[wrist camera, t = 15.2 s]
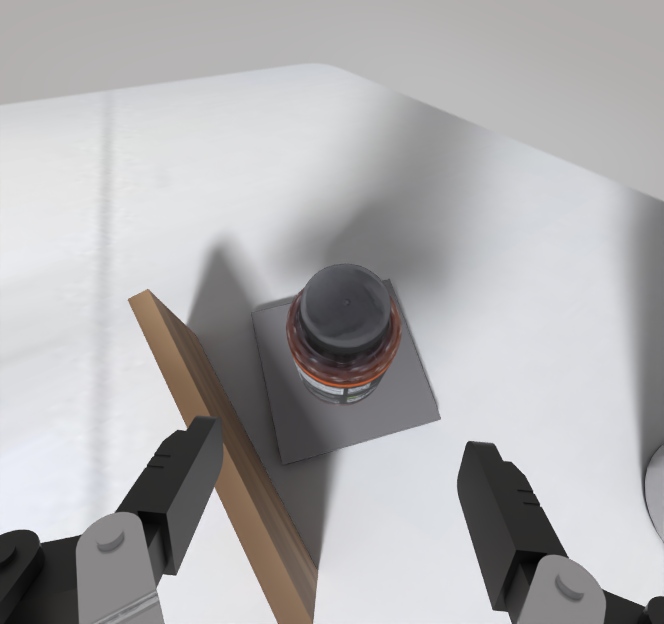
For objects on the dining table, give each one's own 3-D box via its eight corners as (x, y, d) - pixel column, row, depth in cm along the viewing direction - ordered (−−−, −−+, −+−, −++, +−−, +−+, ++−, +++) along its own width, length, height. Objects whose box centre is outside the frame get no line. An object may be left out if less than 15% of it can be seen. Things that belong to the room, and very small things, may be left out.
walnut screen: (195, 334, 28) (148, 288, 21) (318, 571, 23) (313, 624, 15) (180, 342, 28) (127, 299, 21) (301, 584, 22) (287, 643, 15)
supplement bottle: (338, 310, 28) (344, 219, 18) (398, 363, 27) (444, 298, 16) (280, 367, 26) (249, 303, 16) (342, 427, 25) (352, 400, 14)
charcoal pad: (387, 284, 30) (389, 279, 29) (437, 420, 26) (441, 418, 25) (253, 317, 29) (251, 312, 28) (284, 464, 25) (282, 464, 24)
